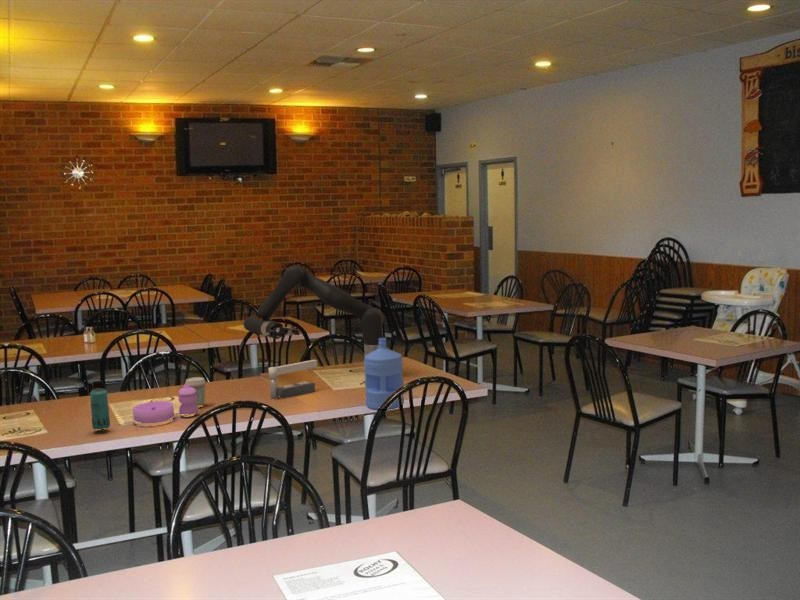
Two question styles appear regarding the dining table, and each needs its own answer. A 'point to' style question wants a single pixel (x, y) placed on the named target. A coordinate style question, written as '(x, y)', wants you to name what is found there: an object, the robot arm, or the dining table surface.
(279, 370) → the bar
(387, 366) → the water jug
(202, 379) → the coffee cup
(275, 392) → the post
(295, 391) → the block
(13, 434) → the dining table surface
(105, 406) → the beverage bottle
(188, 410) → the container set
